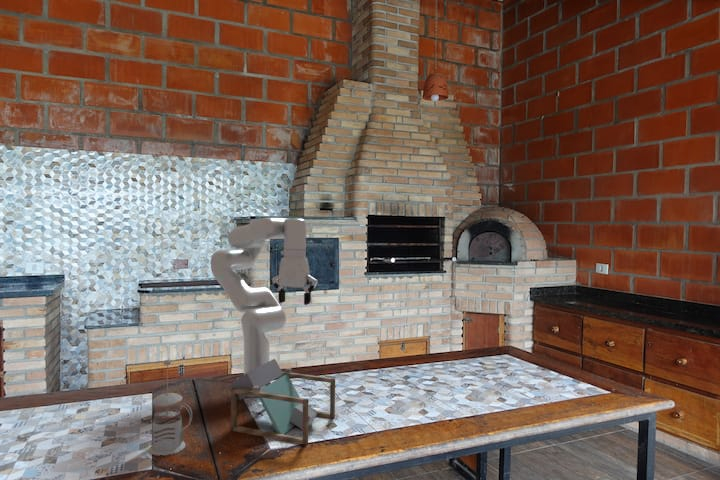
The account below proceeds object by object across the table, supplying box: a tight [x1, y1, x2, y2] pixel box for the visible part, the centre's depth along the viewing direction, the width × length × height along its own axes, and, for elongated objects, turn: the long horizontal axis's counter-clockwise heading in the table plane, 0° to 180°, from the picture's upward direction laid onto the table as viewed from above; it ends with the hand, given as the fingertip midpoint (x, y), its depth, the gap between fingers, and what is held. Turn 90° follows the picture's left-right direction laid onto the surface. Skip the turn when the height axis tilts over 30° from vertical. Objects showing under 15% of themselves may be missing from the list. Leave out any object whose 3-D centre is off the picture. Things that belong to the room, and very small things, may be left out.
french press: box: [148, 359, 193, 456], centre depth 135 cm, size 10×12×25 cm
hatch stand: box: [230, 367, 336, 446], centre depth 152 cm, size 26×21×14 cm
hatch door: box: [230, 358, 301, 435], centre depth 154 cm, size 22×18×8 cm
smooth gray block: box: [289, 403, 319, 431], centre depth 150 cm, size 5×5×6 cm
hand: (294, 303), depth 166 cm, fingers open, 9 cm apart
